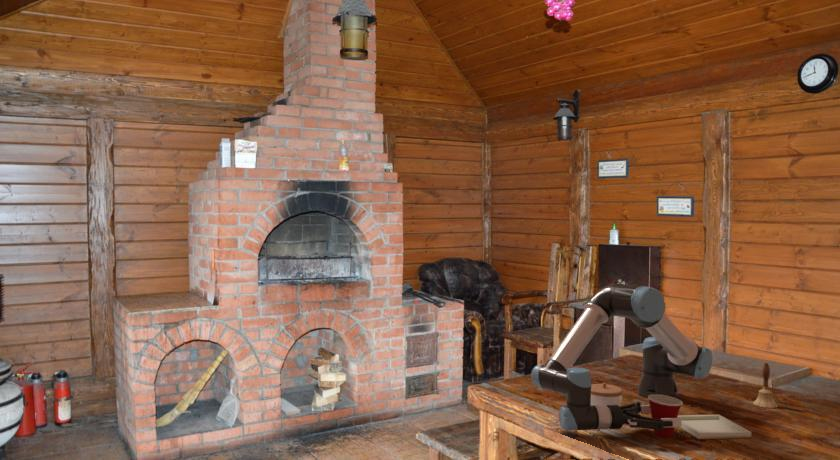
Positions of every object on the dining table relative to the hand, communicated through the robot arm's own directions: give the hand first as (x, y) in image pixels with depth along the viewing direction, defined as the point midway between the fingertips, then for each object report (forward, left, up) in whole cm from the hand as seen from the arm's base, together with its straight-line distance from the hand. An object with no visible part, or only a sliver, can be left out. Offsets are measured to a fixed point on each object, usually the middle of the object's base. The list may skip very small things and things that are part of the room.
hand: (670, 415), depth 207 cm
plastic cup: (0, -2, -7) cm, 7 cm away
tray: (-4, +16, -6) cm, 18 cm away
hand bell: (-28, +53, -7) cm, 61 cm away
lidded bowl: (-23, -13, -7) cm, 27 cm away
